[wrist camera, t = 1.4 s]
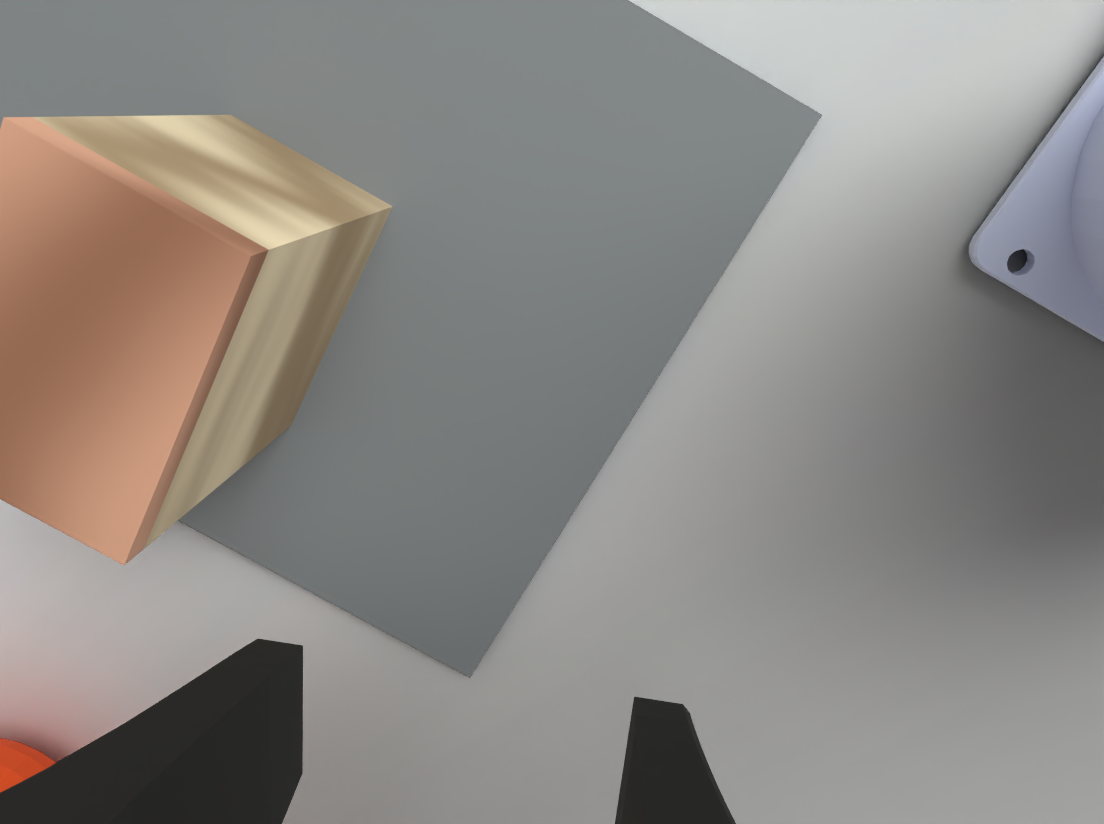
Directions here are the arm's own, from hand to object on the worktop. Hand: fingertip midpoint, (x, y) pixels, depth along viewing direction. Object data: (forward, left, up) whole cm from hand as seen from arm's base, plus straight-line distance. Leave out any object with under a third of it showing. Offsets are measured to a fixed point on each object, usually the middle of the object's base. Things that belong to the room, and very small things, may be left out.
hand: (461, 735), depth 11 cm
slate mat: (+9, -1, -10) cm, 14 cm away
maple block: (+8, 0, -10) cm, 13 cm away
